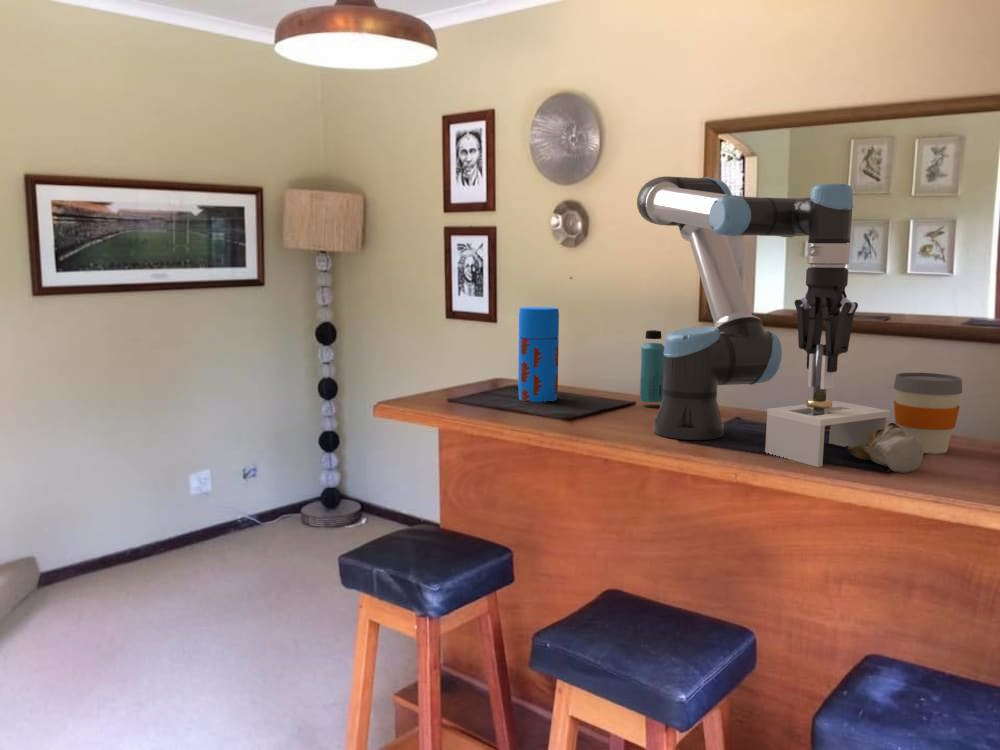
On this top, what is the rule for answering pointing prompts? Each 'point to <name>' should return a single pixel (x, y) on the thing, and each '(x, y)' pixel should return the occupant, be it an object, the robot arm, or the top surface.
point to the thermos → (538, 354)
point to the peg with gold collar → (819, 394)
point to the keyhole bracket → (819, 429)
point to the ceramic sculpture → (891, 449)
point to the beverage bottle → (652, 369)
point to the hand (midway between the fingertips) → (820, 387)
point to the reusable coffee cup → (927, 408)
